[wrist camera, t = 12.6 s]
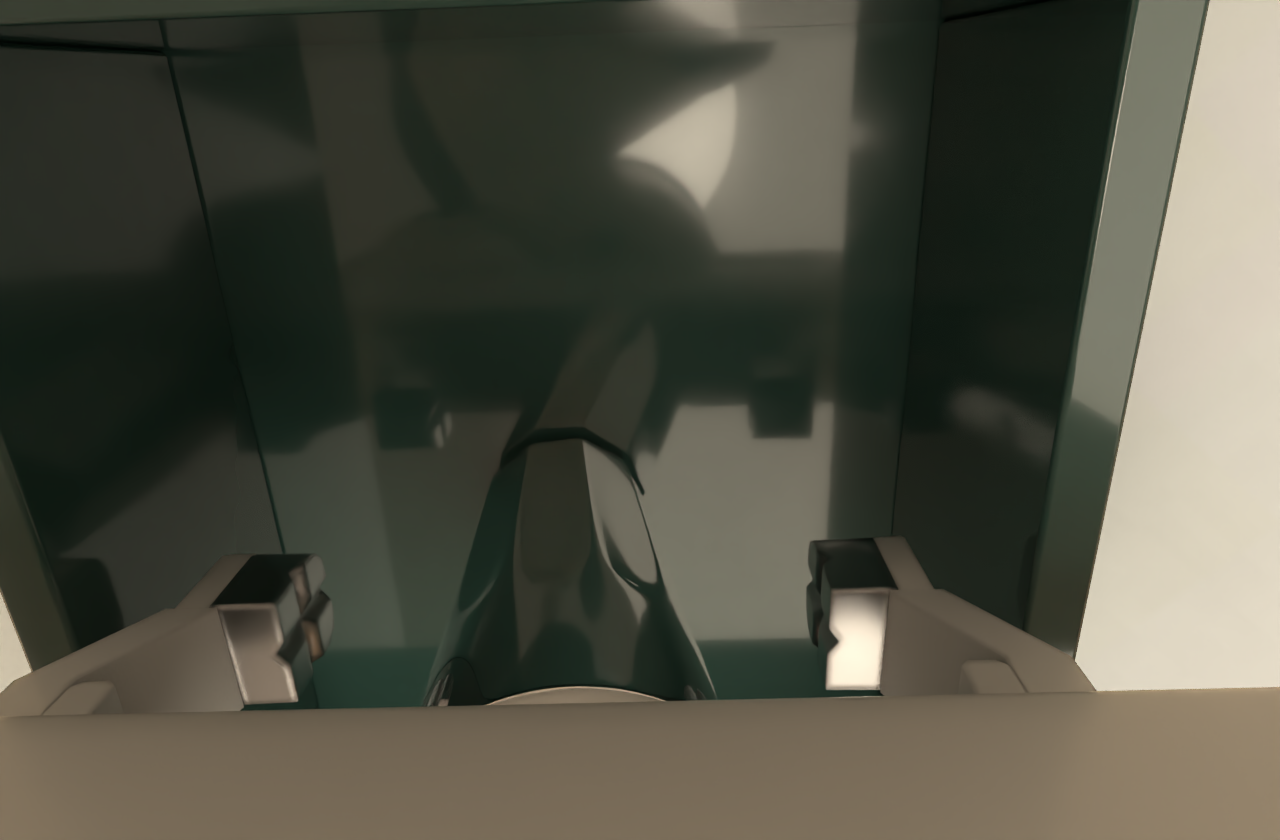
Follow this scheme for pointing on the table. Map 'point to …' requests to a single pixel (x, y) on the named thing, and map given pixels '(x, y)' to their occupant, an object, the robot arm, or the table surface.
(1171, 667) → the table surface
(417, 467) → the open box
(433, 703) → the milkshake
